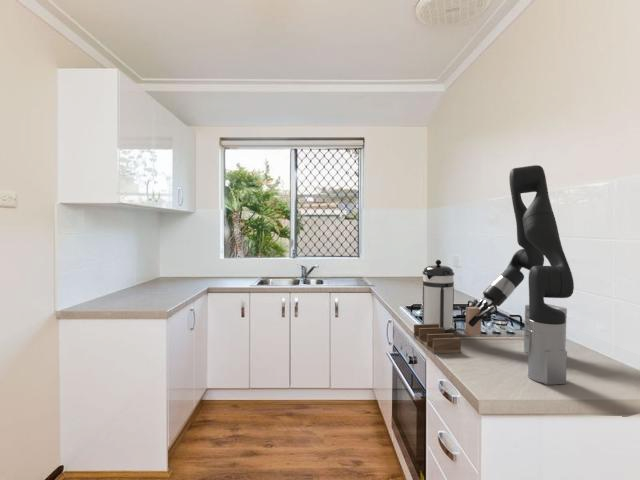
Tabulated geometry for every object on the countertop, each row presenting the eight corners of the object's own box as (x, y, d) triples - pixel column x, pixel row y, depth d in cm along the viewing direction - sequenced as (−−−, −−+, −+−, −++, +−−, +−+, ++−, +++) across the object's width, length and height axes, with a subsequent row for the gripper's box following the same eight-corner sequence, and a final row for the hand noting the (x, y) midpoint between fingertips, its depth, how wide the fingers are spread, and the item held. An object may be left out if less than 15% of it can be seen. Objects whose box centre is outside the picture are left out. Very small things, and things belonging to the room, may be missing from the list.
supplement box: (546, 360, 132) (547, 310, 132) (522, 351, 141) (523, 304, 140) (566, 356, 136) (567, 307, 135) (542, 348, 145) (543, 302, 144)
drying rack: (460, 352, 140) (461, 338, 140) (433, 353, 139) (433, 339, 139) (437, 336, 160) (437, 323, 160) (413, 336, 159) (413, 324, 159)
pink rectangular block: (480, 334, 149) (481, 308, 148) (469, 335, 148) (469, 308, 148) (476, 332, 152) (477, 306, 151) (465, 333, 151) (465, 307, 151)
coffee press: (462, 336, 160) (463, 261, 159) (422, 335, 162) (423, 261, 160) (452, 324, 177) (453, 257, 176) (416, 323, 179) (417, 257, 178)
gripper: (482, 281, 157) (452, 312, 156) (503, 286, 143) (470, 321, 142) (495, 294, 158) (465, 325, 157) (516, 301, 144) (484, 335, 143)
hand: (468, 323), depth 149 cm, fingers closed on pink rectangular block, 3 cm apart
